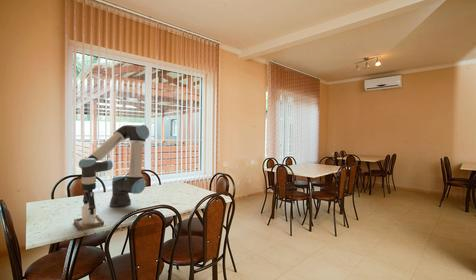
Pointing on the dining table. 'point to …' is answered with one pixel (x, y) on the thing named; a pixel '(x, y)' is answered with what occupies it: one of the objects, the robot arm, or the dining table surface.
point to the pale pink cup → (87, 215)
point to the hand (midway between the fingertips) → (88, 216)
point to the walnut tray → (82, 226)
